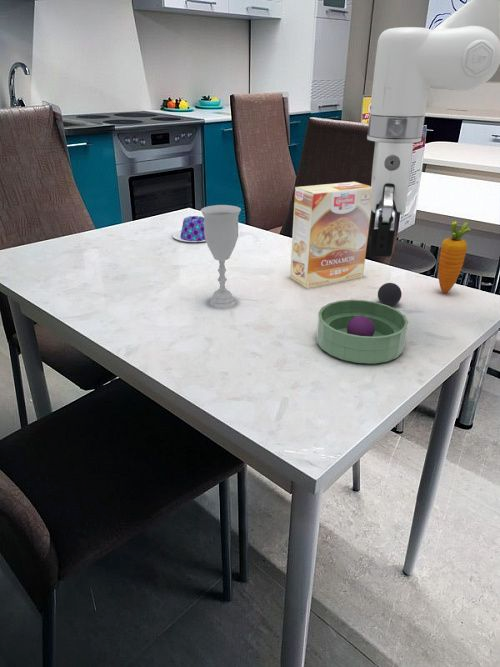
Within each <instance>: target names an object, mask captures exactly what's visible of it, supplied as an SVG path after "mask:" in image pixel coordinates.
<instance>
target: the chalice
mask: <svg viewBox="0 0 500 667" xmlns="http://www.w3.org/2000/svg"><path fill="white" fill-rule="evenodd" d="M241 211H242V209H241V207H239V206H236V205H229V204H216V205H208V206H204V207H202V208H201V209H200V212H201V214H202V217H203V218H204V233H205V240H206V241H205V242H206V245H207V248H208V250H209V251H210V253H211V255H212V257H213V260H216V261H218V263H219V266H218V269H217V272H218V273H219V277H218V279H217V282H219V288H218V289H217V290H215V291H214V292H213V294H212V296H211V299H210V301H209V304H210V305H211V306H212V307H214V308H218V309H219V308H220V309H225V308H230V307H233V306H235V304H236V301H235V298H234V296H233V293H231V291H230V290H228V289H227V288H226V282H227V280H228V279H227V277H226V272H227V269H226V265H225V262H226V261H227V260H229V259H230V258H231V256H232V253H233V252H234V250H235V248H236V244H237V241H238V239H239V215H240V213H241Z"/></svg>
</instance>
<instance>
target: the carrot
mask: <svg viewBox="0 0 500 667" xmlns="http://www.w3.org/2000/svg"><path fill="white" fill-rule="evenodd" d="M468 224H469V222H467V221H465V222H464V223H462V225H461V228H460V230H458V222H457V221H452V222H451V237H447V238H444V239H443V240H442V242H441V247H440V252H439V259H438V260H439V261H438V284H439V288H440V290H441V292H442V293H443V294H448V293H449V292H450V290H451V289H452V288H453V287H454V285H455V284H456V282H457V281H458V278H459V276H460V274H461V271H462V269H463V266H464V262H465V259H466V258H465V257H466V255H467V254H466V253H467V250H468V243H467V241H466V240H464V239H462V237H463V236H464V235H466V234H467V233H469V232H471V228H470V227H467V226H468Z"/></svg>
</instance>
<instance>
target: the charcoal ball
mask: <svg viewBox="0 0 500 667" xmlns="http://www.w3.org/2000/svg"><path fill="white" fill-rule="evenodd" d="M402 294H403V293H402V289H401V288H400V286H399V285H398V284H396V283H394V282H386V283H383V284H382V285H381V286H380V287H379V288H378V290H377V299H378V300H379V303H381V304H385V305H388V306H390V307H392V306H395V305H397V304H398V303H399V302H400V301H401V299H402V296H403V295H402Z"/></svg>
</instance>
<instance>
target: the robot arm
mask: <svg viewBox="0 0 500 667" xmlns="http://www.w3.org/2000/svg"><path fill="white" fill-rule="evenodd" d="M499 67H500V0H469V1H467V2H466V3H465V4H464V5H462V6H461V7H459V8H458V9H457V10H456V11H454V12H453V13H451V15H449V16H448V17H447V18H445V20H443V21H442V22H440V23H439V24H438V25H437V26H435V27H434V28H433V29H431V28H427V27H420V26H419V27H418V26H404V27H402V26H401V27H399V26H398V27H392V28H387V29H385V30H383V31H382V32H381V34H380V35H379V37H378V39H377V45H376V53H375V62H374V70H373V79H372V80H373V81H372V90H371V96H370V97H371V99H370V109H369V118H368V126H367V134H366V139H367V141H371V142H374V150H373V158H372V159H373V160H372V169H371V182H370V186H371V208H372V209H371V221H370V222H371V223H370V229H369V231H370V232H369V236H370V245H369V255H370V256H371V257H372V256H374V257H387V258H390V257H392V254H393V248H394V240H395V233H396V229H395V224H396V212H397V213H399V214H400V215H401V216H402V215H405V213H406V210H407V201H408V194H409V186H410V179H411V171H412V170H411V169H412V162H413V161H412V160H413V152H414V151H413V150H414V144H415V143H416V144H417V143H420V142H422V137H423V131H424V124H425V118H426V111H427V104H428V97H429V91H430V89H434V90H435V89H436V90H438V89H439V90H448V91H463V92H464V91H470V90H474V89H476V88H478V87H481V86H482V85H484V84H486V83H487V82H488V81H490V80H491V78H492V77H493V76H494V75H495V74H496V72H497V70H498V69H499Z"/></svg>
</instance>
